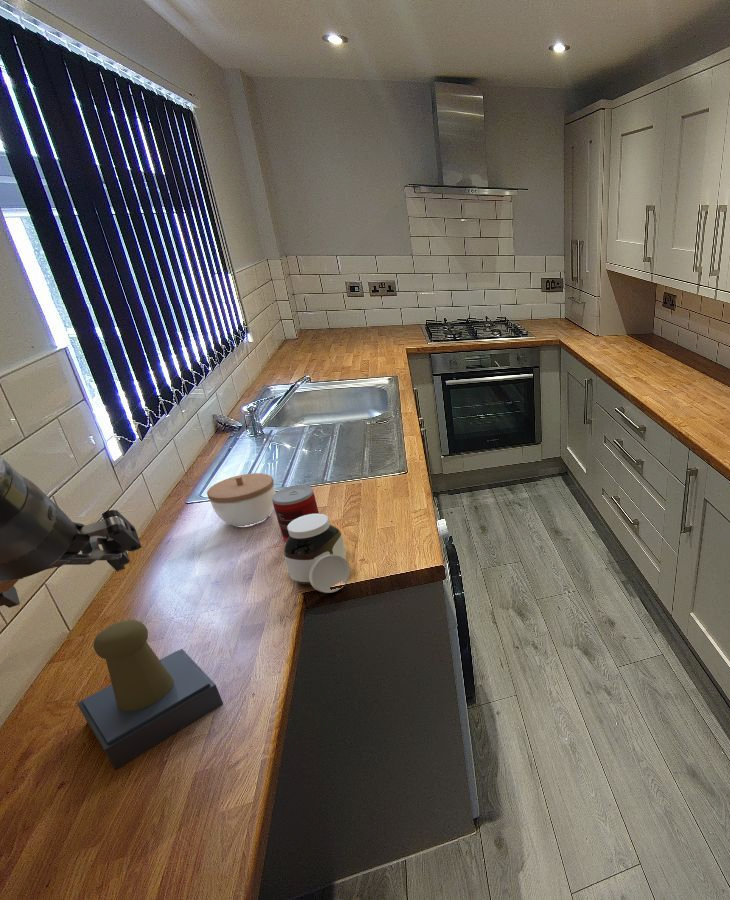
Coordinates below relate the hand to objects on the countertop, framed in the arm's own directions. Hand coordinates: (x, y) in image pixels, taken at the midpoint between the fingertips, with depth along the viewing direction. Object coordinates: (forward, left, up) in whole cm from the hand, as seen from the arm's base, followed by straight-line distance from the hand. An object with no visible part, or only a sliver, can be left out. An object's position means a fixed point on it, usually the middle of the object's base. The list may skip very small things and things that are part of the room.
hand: (68, 579), depth 57 cm
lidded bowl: (+34, +53, -27) cm, 69 cm away
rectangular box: (+2, +7, -27) cm, 28 cm away
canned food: (+37, +35, -27) cm, 58 cm away
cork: (+2, +7, -23) cm, 24 cm away
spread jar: (+32, +17, -27) cm, 46 cm away
